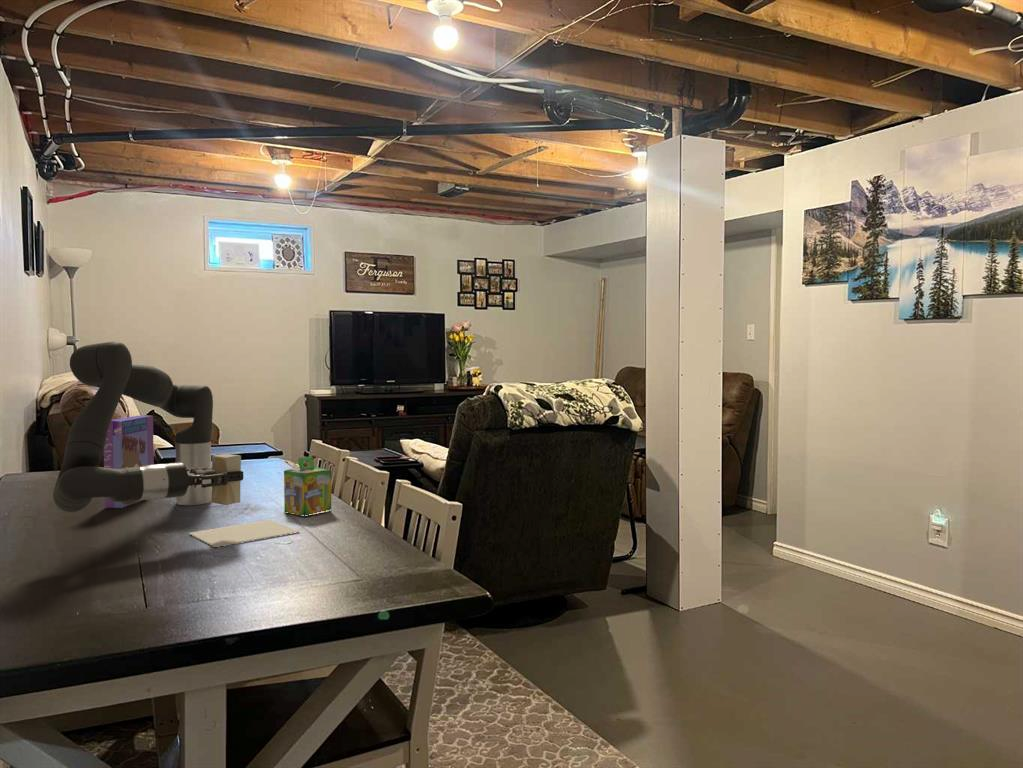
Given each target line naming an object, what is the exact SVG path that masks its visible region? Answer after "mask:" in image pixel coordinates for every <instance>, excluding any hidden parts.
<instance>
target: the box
mask: <svg viewBox="0 0 1023 768" xmlns="http://www.w3.org/2000/svg"><path fill="white" fill-rule="evenodd" d="M241 467H242V455H239V454H231V453H229V454H228V453H221V454H214V455H211V468H212V470H216V472H232V471H242V468H241ZM218 481H222V476H221V477H218ZM241 482H242V481H233V482H228V484H227V485H220V486H212V499H211V502H210V503H211V504H217V505H222V506H229V505H232V504H233V505H234V504H237V503H238V504H239V503H241Z"/></svg>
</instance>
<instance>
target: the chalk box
mask: <svg viewBox="0 0 1023 768" xmlns="http://www.w3.org/2000/svg"><path fill="white" fill-rule="evenodd" d="M313 458H314V457H313V456H311V455H309V456H304V457H298V461H297V462H298V465H299V467H298V468H291V469H284V471H283V485H284V486H283V487H284V488H283V492H284V494H283V495H284V497H283V498H284V508H283V509H284V511H283V512H284V513H285V512H288V513H294V514H298V515H304V516H305V515H309V514H313V513H317V512H321V511H326V510H330V509H331V510H332V470H331V469H326V468H322V467H315V465H314V459H313ZM305 462H309V465H307V466H305V465H304V463H305ZM298 515H297V516H298Z"/></svg>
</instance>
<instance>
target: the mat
mask: <svg viewBox="0 0 1023 768" xmlns="http://www.w3.org/2000/svg"><path fill="white" fill-rule="evenodd" d="M299 531H300V530H298V529H294V528H293V527H290V526H288V525H284V524H282V523H280V522H277V521H275V520H273V519H267V520H261V521H255V522H254V521H253V522H247V523H241V524H235V525H229V526H223V527H217V528H212V529H205V530H203V529H202V530H198V531H192V532H191V531H190V532H188V535H189V536H191V535H192V536H191V537H193V538H195V539H197V540H198V539H199V540H198V541H200V540H201V542H202V541H203V543H204V542H205V544H206V543H207V545H208V544H209V545H208V546H210V545H211V547H212V546H213V547H212V548H214V547H218V548H221V547H220V546H224V545H229V546H231V545H230V544H235V545H237V544H236V543H241V542H246V543H248V542H247V541H252V540H258V539H263V540H265V539H264V538H269V537H274V538H276V537H275V536H280V535H285V534H290V533H294V532H299ZM280 537H281V536H280ZM269 539H270V538H269ZM258 541H259V540H258ZM252 542H253V541H252ZM241 544H242V543H241ZM224 547H225V546H224Z"/></svg>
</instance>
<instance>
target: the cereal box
mask: <svg viewBox="0 0 1023 768" xmlns="http://www.w3.org/2000/svg"><path fill="white" fill-rule="evenodd" d="M154 453H155V451H154V415H148V414H147V415H145V414H144V415H143V414H140V415H134V416H129V417H127V416H126V417H122V418H117V419H116V418H115V419H112V420H111V422H110V425H109V429H108V433H107V438H106V442H105V447H104V452H103V467H104V468H112V469H122V468H132V467H142V466H146V465H154V464H155V462H154V461H155V460H154V459H155V458H154V457H155V456H154ZM139 501H140V502H143V501H142V500H133V501H124V502H114V501H112V500H110V499H109V497H104V509H107V508H123V509H125V508H127V506H128V507H129V505H130V506H133V505H135V504H138V503H140V502H139ZM137 502H138V503H137ZM132 504H133V505H132ZM124 507H125V508H124Z"/></svg>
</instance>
